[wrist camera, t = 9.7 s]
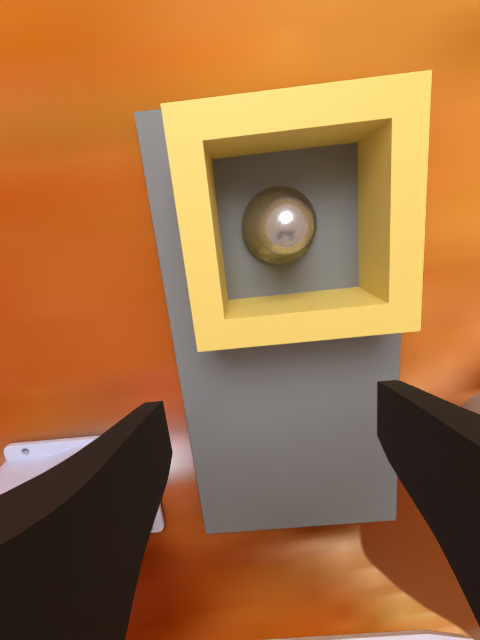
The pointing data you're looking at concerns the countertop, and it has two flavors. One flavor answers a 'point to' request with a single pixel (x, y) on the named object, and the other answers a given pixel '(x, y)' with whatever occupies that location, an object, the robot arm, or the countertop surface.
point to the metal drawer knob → (279, 224)
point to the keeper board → (277, 355)
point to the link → (373, 204)
